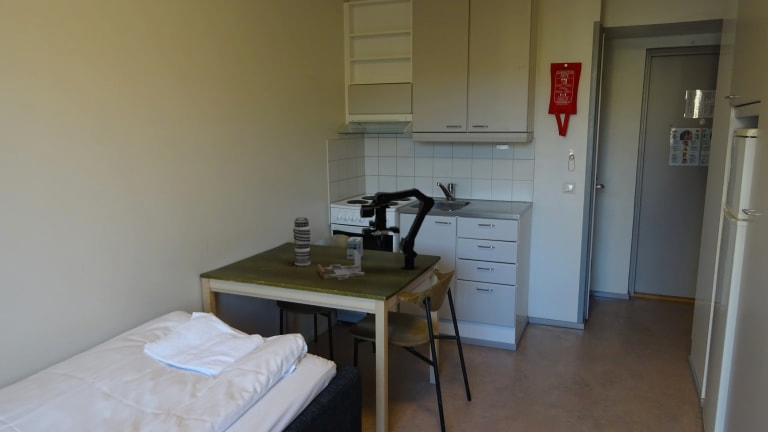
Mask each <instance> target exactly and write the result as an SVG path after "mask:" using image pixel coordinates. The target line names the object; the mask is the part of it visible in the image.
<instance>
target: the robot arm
mask: <svg viewBox="0 0 768 432" xmlns="http://www.w3.org/2000/svg"><path fill="white" fill-rule="evenodd" d="M409 198H415V199H416V200H417V201H418V202H419V204H418V211H417V213H416V215H415V217H414V219H413V221H412V224H411V226H410V229H409V230H408V233H407V235H405V237H403V236H402V237H401V239H400V241H399V242H398V245H399V246H398V249H399V252H401V253H402V256H403V255H404V256H403V265H402V266H401V269H405V270H406V269H407V270H414V269H416V268H418V265H416V258H417V257H418V253H417V251H415V250H414V249H415V244H416V243H415V241H416V238H417V236H418V234H419V232H420V229H421V227H422V225H423V223H424V221H425V218H426V217H427V214H429V213H430V212H431V211H432V209H433V208H434V206H435V203H436V202H435V199H434V198H433V197H431V196H428V195H426V194H424V193H423V192H422V191H421V190H419V189H418V188H415V187H413V188H410V189H404V190H397V191H392V192H389V191H378V192H375V194H374V196H373V199H372V200H371V202H370V204H363V203H362V204H361V205H360V210H359V215H360V218H361V219H370V218H371V219H372V218H373V217H374V220H373V219H372V220H371V219H370V220H368V227H363V228H361V234H362V235H364V236H372V235H373V236H374V237H376V240H377V242H378V243H377V244H378V246H379V248H383V245H384V244H385V241H386V239H387V237H389V235H390V234H389V233H393V234H394V235H395V234H400V233H401V230H400V228H399V227H398V226H397V225H393V226H389V227H388V228H387V222H388V219H387V209H391V206H390V205H389V203H391V202H393V201H396V200H403V199H409ZM371 227H372V228H371Z"/></svg>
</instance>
